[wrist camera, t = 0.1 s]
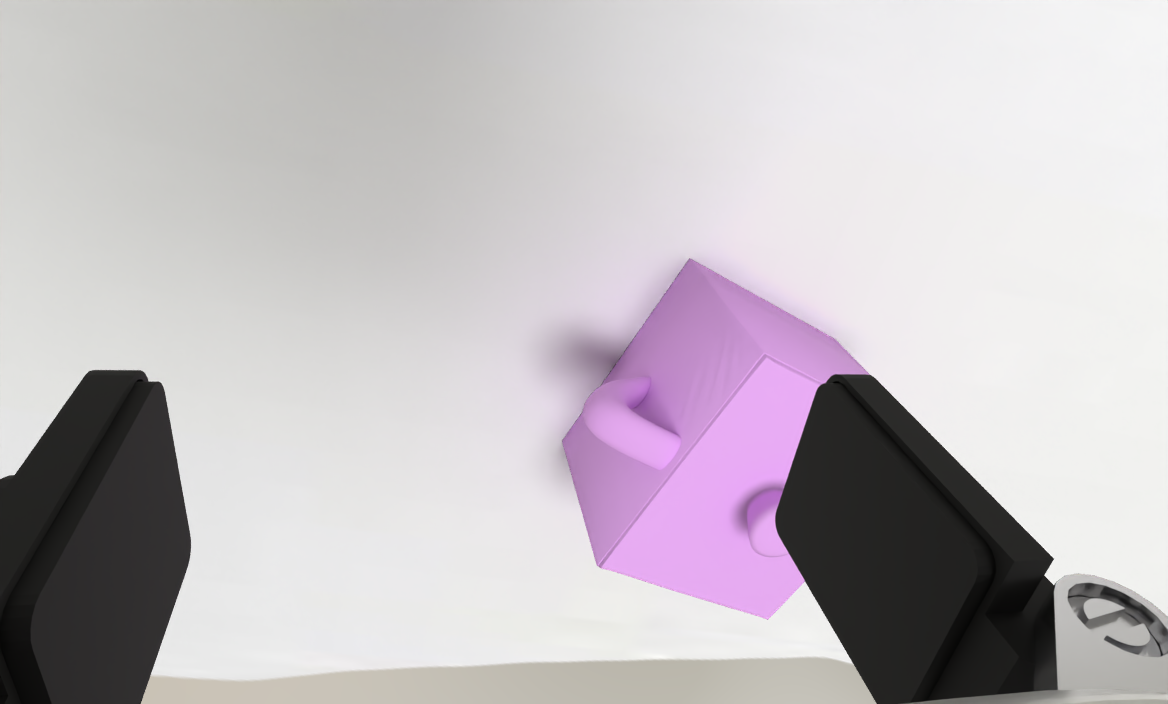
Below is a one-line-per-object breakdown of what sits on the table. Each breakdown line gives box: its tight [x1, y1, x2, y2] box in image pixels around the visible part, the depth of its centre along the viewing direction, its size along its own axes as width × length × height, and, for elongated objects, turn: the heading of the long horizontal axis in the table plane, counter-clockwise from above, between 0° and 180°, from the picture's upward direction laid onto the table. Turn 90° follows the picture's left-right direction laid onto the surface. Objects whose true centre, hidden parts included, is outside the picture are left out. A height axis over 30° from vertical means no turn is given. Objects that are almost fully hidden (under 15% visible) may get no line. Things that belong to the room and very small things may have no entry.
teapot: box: [562, 259, 870, 620], centre depth 45 cm, size 15×25×14 cm, turn 58°
